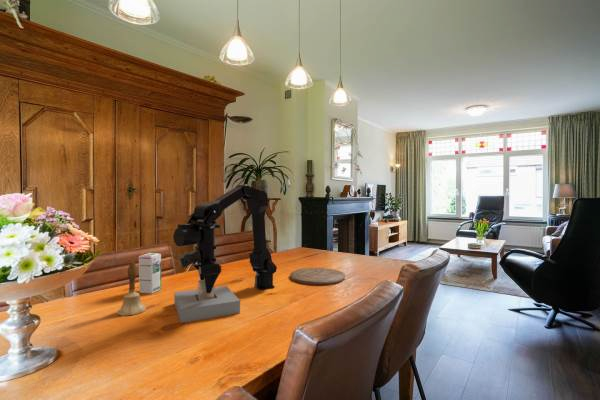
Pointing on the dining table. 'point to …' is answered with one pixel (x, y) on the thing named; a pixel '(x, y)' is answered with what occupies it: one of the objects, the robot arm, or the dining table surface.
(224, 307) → the socket block
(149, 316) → the dining table surface
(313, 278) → the trivet
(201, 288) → the birch peg
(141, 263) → the syrup box
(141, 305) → the hand bell
